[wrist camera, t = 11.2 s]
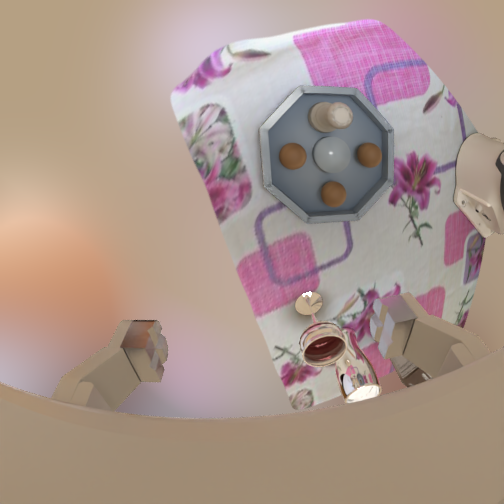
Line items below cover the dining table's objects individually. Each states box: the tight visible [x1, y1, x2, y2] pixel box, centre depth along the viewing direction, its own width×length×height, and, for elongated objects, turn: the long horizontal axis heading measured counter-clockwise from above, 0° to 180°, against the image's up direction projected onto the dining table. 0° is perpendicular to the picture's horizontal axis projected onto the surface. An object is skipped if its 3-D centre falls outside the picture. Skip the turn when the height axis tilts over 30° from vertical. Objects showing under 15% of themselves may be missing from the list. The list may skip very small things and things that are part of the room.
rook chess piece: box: [308, 102, 353, 133], centre depth 30 cm, size 4×4×8 cm
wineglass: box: [295, 292, 347, 367], centre depth 42 cm, size 7×7×12 cm
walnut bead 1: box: [279, 143, 307, 170], centre depth 34 cm, size 4×4×4 cm
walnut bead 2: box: [321, 181, 346, 207], centre depth 37 cm, size 4×4×4 cm
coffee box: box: [390, 355, 433, 387], centre depth 44 cm, size 9×6×16 cm
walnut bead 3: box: [357, 143, 382, 168], centre depth 34 cm, size 4×4×4 cm
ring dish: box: [259, 86, 394, 224], centre depth 35 cm, size 19×19×3 cm
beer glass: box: [335, 328, 382, 404], centre depth 45 cm, size 7×7×15 cm
